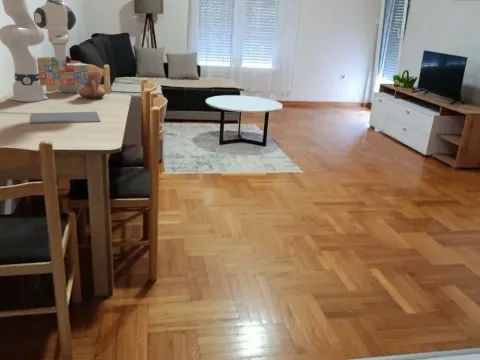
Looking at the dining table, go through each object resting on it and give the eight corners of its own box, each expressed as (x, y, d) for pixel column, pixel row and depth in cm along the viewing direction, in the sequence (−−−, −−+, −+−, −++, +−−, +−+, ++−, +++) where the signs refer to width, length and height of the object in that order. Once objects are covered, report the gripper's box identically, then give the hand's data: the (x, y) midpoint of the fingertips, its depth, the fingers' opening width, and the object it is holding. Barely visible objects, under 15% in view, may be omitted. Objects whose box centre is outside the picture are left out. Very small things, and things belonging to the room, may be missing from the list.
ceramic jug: (78, 95, 269) (76, 70, 264) (104, 94, 274) (102, 70, 269) (80, 101, 254) (78, 75, 248) (107, 101, 259) (105, 75, 253)
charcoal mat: (31, 114, 220) (31, 113, 219) (96, 112, 230) (96, 111, 230) (29, 124, 202) (29, 123, 202) (100, 121, 213) (100, 120, 213)
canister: (75, 88, 289) (73, 53, 281) (92, 92, 278) (90, 57, 271) (48, 91, 275) (45, 55, 268) (65, 95, 265) (62, 58, 258)
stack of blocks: (87, 83, 222) (86, 57, 218) (88, 85, 217) (86, 58, 212) (40, 83, 215) (37, 56, 210) (39, 85, 209) (36, 58, 205)
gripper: (51, 36, 216) (53, 66, 221) (51, 39, 198) (54, 72, 203) (65, 36, 218) (67, 66, 223) (66, 40, 200) (69, 72, 205)
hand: (61, 69), depth 213 cm, fingers closed on stack of blocks, 6 cm apart
